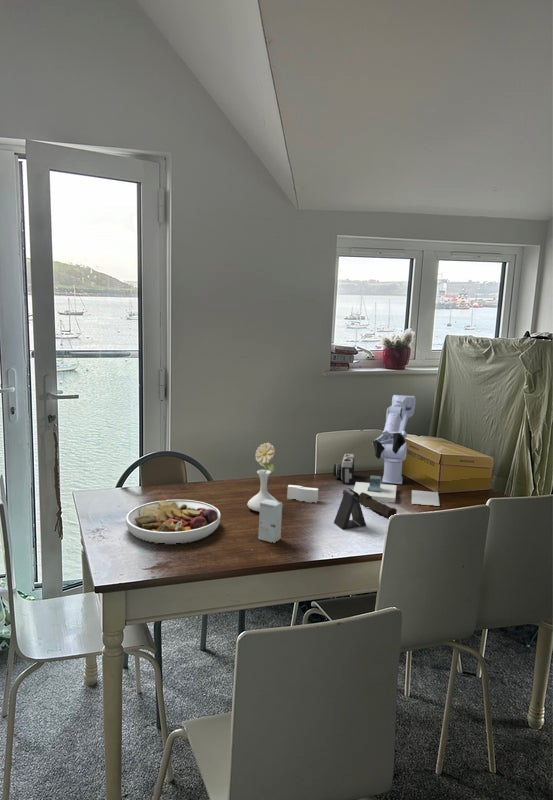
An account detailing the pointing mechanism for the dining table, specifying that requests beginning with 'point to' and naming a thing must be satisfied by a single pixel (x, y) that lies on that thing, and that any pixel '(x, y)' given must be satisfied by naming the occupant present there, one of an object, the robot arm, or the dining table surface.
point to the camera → (345, 469)
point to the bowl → (173, 521)
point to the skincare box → (270, 520)
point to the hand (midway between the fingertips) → (385, 454)
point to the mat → (425, 498)
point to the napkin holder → (302, 493)
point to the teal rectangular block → (375, 483)
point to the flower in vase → (263, 475)
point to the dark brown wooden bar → (376, 505)
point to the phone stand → (350, 511)
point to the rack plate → (384, 495)
